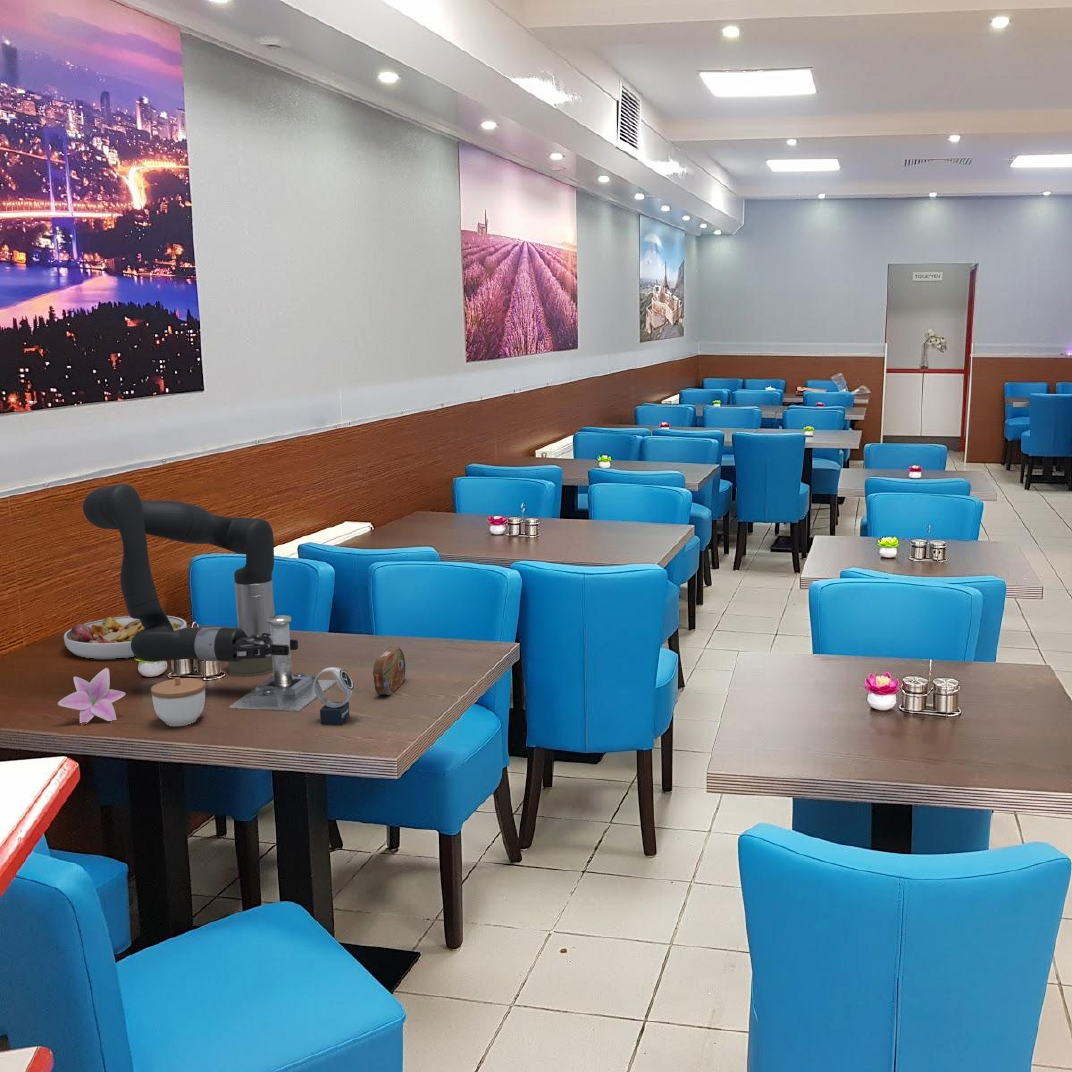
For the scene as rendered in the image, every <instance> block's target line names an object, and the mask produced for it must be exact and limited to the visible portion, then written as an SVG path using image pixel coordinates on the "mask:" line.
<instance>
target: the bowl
mask: <svg viewBox="0 0 1072 1072" xmlns="http://www.w3.org/2000/svg"><path fill="white" fill-rule="evenodd" d="M166 616H167V617H168V619H169V621H170V623H171V625H172V627H173V629H174V631H176V630H179V629H182V628H188V626H187V621H186V620H185V619H183V618H180V617H178V616H177V617H176V616H173V615H172V616H171V615H166ZM142 630H144V627H143V625H142V623H141V621H140V619H133V618H131V617H130V615H126V616H117V617H111V616H109V617H107V618H104V619H103V618H102V619H99V620H95V621H90V622H87V623H78V624H76V625H75V624H74V625H73V626H72V628H70V629H69V630H67V631H66V632H65V633H64V634H63V639H64V645H65V646H66V648H67V650H69V651H70V653H73V654H74V655H75V656H77V657H81V658H84V657H85V659H89V658H94V659H93V660H117V659H116V658H125V659H130V658H129V657H134V653H133V652H132V650H131V641H132V639H133V637H134V636H135V635H136V634H137V633H138V632H140V631H142ZM134 658H135V657H134Z"/></svg>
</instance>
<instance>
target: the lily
mask: <svg viewBox="0 0 1072 1072" xmlns="http://www.w3.org/2000/svg"><path fill="white" fill-rule="evenodd" d="M72 680H73V683H74V686H75V689H76V691H74V692H72V693H71V694H70V693H69V694H68V695H67V696H65V697H63V698H62V699H61V700H59V701H58V702H57V705H58V706H60V707H64V708H69V709H73V710H77V711H79V724H80V723H82V722H87V723H89V722H90V721H91V720H92V719H93V718H94V717H95V716H96V717H98V718H100V719H102V720H105V721H107V722H109V721H112V720H117V715H116V712H115V707H114V706H113V703H114V702H116V701H118V700H119V699H121V698H123V697H124V696H126V692H124V691H121V690H117V689H110V683H111V682H110V680H111V679H110V669H109V668H108V667H105V668H104V669H102V670H101V671H99V672H98V673H97V674H96V675H95V676H94V677H93V678H92V679H91V680H90V682H89V681H88V680H85V679H83V678H81V677H79V676H73V679H72Z"/></svg>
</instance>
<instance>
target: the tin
mask: <svg viewBox="0 0 1072 1072" xmlns="http://www.w3.org/2000/svg"><path fill="white" fill-rule="evenodd" d="M404 654H405V653H404V652H403V650H402V649H401V648H400V647H399V648H398V647H397V648H389V649H387V650H386V651H384V652H383V653H382V654H381V655H380V656H379V657H378V658H376V660H375V661H374V663H373V668H372V669H373V670H372V675H373V682H374V683H373V684H374V690H375V692H376V694H378V695H380V696H392V695H393V694H394V693H395V692H396V691H395V690H396V689H397V688H398V687H399V688H400V687H401V686H402V685H403V684H404V682H405V677H406V659H405V655H404ZM399 688H398V689H399ZM398 689H397V690H398ZM394 691H395V692H394ZM392 693H393V694H392Z"/></svg>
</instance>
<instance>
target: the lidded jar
mask: <svg viewBox="0 0 1072 1072" xmlns="http://www.w3.org/2000/svg"><path fill="white" fill-rule="evenodd" d="M150 694H151V699H152V704H153V708H154V712H155V713H156V716H157V717H158V718H159V719H160V720H161V721H162V722H164V724H165V725H166V724H167V726H168V725H169V727H185V726H188V724H189V725H191V723H192V724H194V723H196V721H197V719H198V718H199V717H200V716H201V714H202V713H203V711H204V709H205V704H206V682H205V681H204V680H202V679H199V678H193V677H192V678H191V677H190V678H189V677H186V678H185V677H183V678H181V677H180V676H178V677H175V678H174V679H169V680H168V679H167V680H163V681H160V682H158V683H156V684H154V685H153V686H151V688H150ZM193 722H194V723H193Z"/></svg>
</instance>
